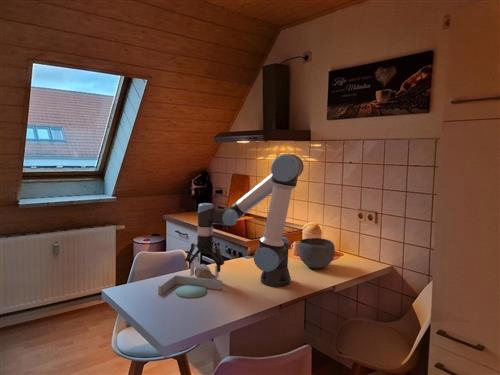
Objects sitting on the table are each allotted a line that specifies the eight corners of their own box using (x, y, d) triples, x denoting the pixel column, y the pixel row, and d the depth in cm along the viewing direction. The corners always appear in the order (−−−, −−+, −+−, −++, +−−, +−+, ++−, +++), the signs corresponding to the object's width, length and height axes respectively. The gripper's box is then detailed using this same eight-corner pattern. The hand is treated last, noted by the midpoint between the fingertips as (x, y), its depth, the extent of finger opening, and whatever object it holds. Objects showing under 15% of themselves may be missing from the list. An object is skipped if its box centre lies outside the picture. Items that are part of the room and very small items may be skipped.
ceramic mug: (198, 284, 183) (198, 269, 182) (194, 279, 191) (194, 264, 190) (219, 282, 187) (219, 267, 186) (214, 277, 195) (215, 262, 194)
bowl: (329, 261, 228) (330, 237, 226) (338, 273, 207) (340, 246, 205) (294, 261, 227) (295, 236, 226) (300, 272, 206) (301, 245, 205)
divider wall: (222, 288, 179) (222, 280, 178) (221, 289, 177) (221, 281, 177) (175, 282, 185) (175, 274, 184) (174, 283, 184) (174, 275, 183)
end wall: (175, 283, 184) (175, 275, 183) (160, 294, 169) (160, 286, 169) (173, 283, 184) (173, 275, 184) (158, 294, 169) (158, 285, 169)
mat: (210, 288, 178) (210, 287, 178) (199, 299, 165) (199, 298, 165) (183, 285, 182) (183, 283, 182) (170, 295, 169) (170, 293, 168)
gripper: (231, 235, 187) (230, 277, 189) (185, 230, 193) (184, 271, 195) (226, 238, 180) (225, 282, 182) (178, 233, 186) (178, 276, 188)
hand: (204, 276), depth 189 cm, fingers open, 12 cm apart
